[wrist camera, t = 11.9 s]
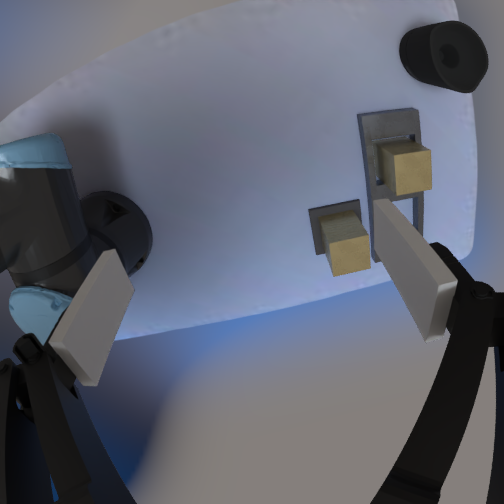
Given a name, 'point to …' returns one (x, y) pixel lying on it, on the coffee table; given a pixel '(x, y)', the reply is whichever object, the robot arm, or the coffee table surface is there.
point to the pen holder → (445, 56)
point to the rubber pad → (328, 210)
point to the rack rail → (370, 129)
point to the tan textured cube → (345, 242)
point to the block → (403, 165)
